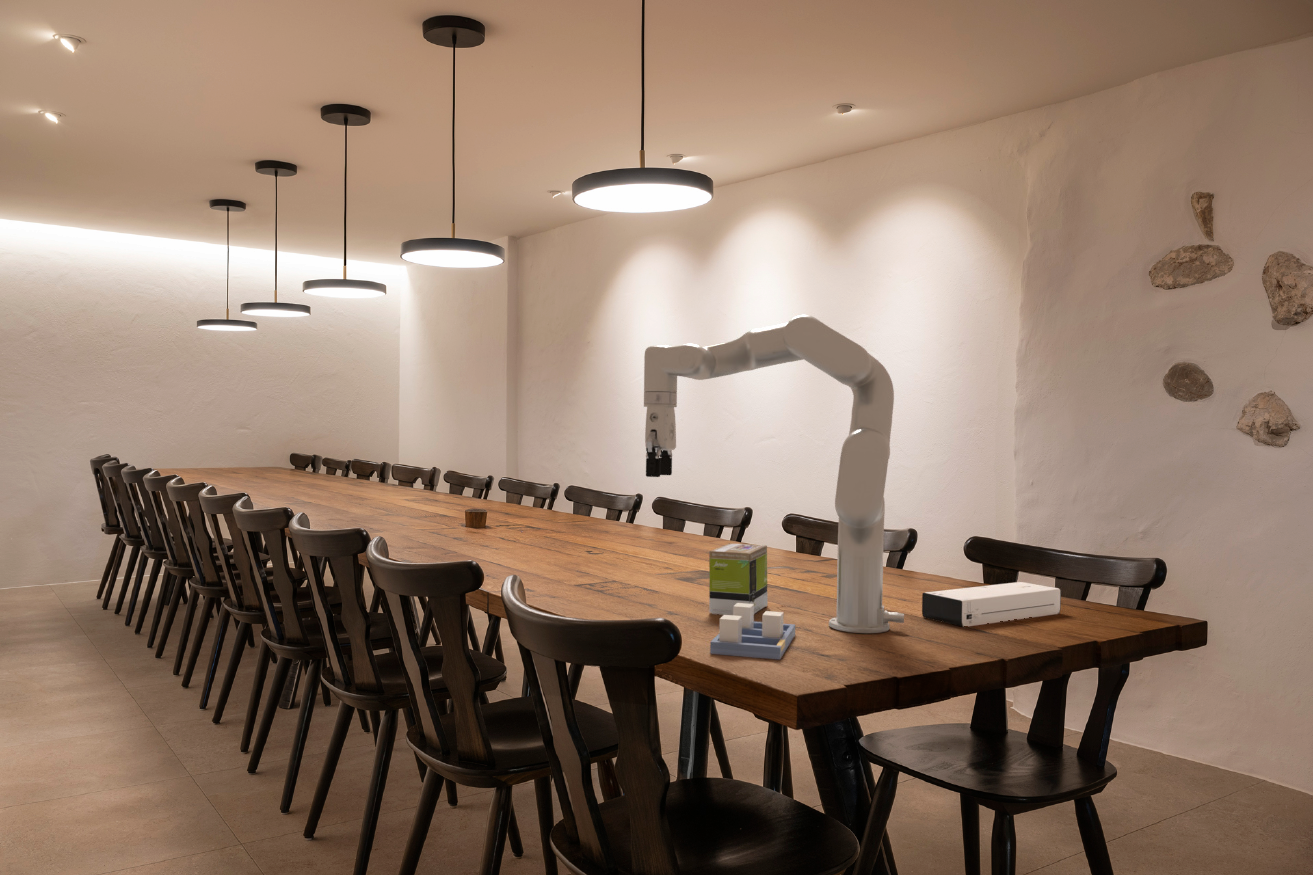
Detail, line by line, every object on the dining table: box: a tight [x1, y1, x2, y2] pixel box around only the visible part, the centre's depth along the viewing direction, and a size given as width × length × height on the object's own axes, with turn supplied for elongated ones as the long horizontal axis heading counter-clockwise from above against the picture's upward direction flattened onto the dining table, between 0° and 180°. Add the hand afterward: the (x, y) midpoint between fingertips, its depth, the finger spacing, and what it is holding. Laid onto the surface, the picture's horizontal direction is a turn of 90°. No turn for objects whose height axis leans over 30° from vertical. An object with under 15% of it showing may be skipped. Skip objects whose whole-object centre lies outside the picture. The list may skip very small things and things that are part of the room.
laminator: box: [921, 581, 1062, 628], centre depth 208 cm, size 34×12×6 cm, turn 121°
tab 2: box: [733, 603, 755, 628], centre depth 183 cm, size 4×4×5 cm
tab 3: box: [761, 610, 784, 638], centre depth 175 cm, size 4×4×5 cm
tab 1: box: [718, 615, 742, 643], centre depth 171 cm, size 4×4×5 cm
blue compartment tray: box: [709, 620, 796, 661], centre depth 176 cm, size 13×21×2 cm, turn 164°
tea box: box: [708, 543, 769, 616], centre depth 210 cm, size 15×10×15 cm
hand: (659, 475), depth 205 cm, fingers open, 9 cm apart
